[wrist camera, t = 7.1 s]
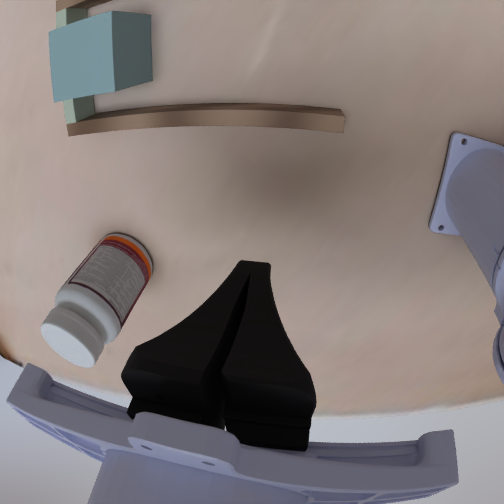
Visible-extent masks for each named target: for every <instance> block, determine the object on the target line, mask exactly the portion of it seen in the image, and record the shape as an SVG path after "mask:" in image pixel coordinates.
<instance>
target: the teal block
mask: <svg viewBox="0 0 504 504" xmlns="http://www.w3.org/2000/svg"><path fill="white" fill-rule="evenodd" d="M49 51H50V66H51V78H52V88H53V97H54V103H55V102H59V101H64V100H69V99H74V98H79V97H84V96H90V95H96V94H102V93H109V92H115V91H119V90H122V89H125V88H128V87H131V86H135V85H138V84H142V83H145V82H149V81H153V76H152V49H151V15H147V14H139V13H130V12H120V11H109V12H106V13H102V14H99V15H95V16H92V17H89V18H86V19H83V20H80V21H77V22H74V23H71V24H68V25H65V26H63V27H60V28H57V29H55V30H52V31H50V32H49Z"/></svg>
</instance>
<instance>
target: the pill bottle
mask: <svg viewBox="0 0 504 504" xmlns="http://www.w3.org/2000/svg"><path fill="white" fill-rule="evenodd" d="M151 275H152V262H151V259H150V257H149V255H148V253H147V252H146V250H145V249H144V247H143V246H142V245H141V244H140V243H138V242H137V241H136V240H134V239H132V238H131V237H128V236H126V235H122V234H110V235H107V236H105V237H104V238H102V239H101V240H100V241H99V243H98V244H97V245H96V246H95V247H94V248H93V250H92V251H91V252H90V253H89V254H88V256H87V257H86V258H85V259H84V260H83V262H82V263H81V264H80V265H79V266H78V268H77V269H76V270H75V271H74V273H73V274H72V275H71V276H70V277H69V279H68V280H67V281H66V282H65V284H64V285H63V286H62V287H61V288H60V290H59V291H58V293H57V295H56V298H55V308H53V309H52V310H51V312H50V313H49V315H48V316H47V318H46V319H45V320H44V322H43V323H42V325H41V333H42V335H43V337H44V339H45V340H46V342H47V343H48V344H49V345H50V346H51V347H52V348H53V349H54V350H55V351H56V352H57V353H58V354H59V355H61V356H62V357H63V358H65V359H66V360H68V361H70V362H71V363H73V364H76V365H78V366H81V367H85V368H90V367H93V366H94V365H95V363H96V361H97V360H98V358H99V356H100V354H101V353H102V351H103V348H104V345H105V344H109V343H111V342H112V341H114V340H115V339H116V337H117V336H118V334H119V333H120V331H121V329H122V327H123V325H124V323H125V321H126V320H127V318H128V316H129V314H130V312H131V311H132V309H133V307H134V305H135V304H136V302H137V300H138V298H139V297H140V295H141V293H142V291H143V290H144V288H145V286H146V285H147V283H148V281H149V279H150V278H151Z"/></svg>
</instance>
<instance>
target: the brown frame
mask: <svg viewBox="0 0 504 504" xmlns="http://www.w3.org/2000/svg"><path fill="white" fill-rule="evenodd" d="M108 1H111V0H57V1H56V12H58V11H61V10H63V9H65V8H85V9H87V8H90V7H93V6H96V5H99V4H102V3H105V2H108ZM344 123H345V116H344V114H343V113H342V111H341V109H332V108H322V107H311V106H298V105H282V104H257V103H209V104H184V105H168V106H155V107H144V108H135V109H126V110H118V111H110V112H103V113H97V114H93V115H91V116H89V117H87V118H84V119H82V120H80V121H78V122H75V123H69V124H67V130H68V135H69V136H75V135H82V134H90V133H98V132H107V131H117V130H128V129H141V128H156V127H177V126H257V127H278V128H294V129H307V130H318V131H328V132H337V133H344Z"/></svg>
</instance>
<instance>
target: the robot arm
mask: <svg viewBox="0 0 504 504" xmlns="http://www.w3.org/2000/svg"><path fill="white" fill-rule="evenodd" d="M463 138H465V142H464V143H463V144H462V143H461V140H462V139H463ZM440 225H442V227H441V228H438V227H439V226H440ZM429 228H430V230H431V231H432V232H435V233H443V234H450V235H457V236H462V238H463V240H464V241H465V243H466V244H467V246H468V248H469V249H470V251H471V253H472V254H473V256H474V258H475V260H476V261H477V263H478V265H479V267H480V268H481V270H482V272H483V274H484V276H485V277H486V279H487V281H488V283H489V285H490V287H491V289H492V291H493V293H494V295H495V297H496V301H497V304H496V308H495V310H494V312H495V314H496V316H497V318H498V321H499V323H500V325H501V327H500V328H499V330H498V332H497V334H496V336H495V339H494V343H493V360H494V365H495V368H496V371H497V373H498V375H499V377H500V379H501V381H502V382H503V384H504V146H502V145H499V144H496V143H493V142H490V141H486V140H483V139H480V138H476V137H473V136H470V135H466V134H462V133H459V132H455V133H453V134H452V135H451V138H450V144H449V148H448V153H447V158H446V162H445V167H444V171H443V175H442V179H441V183H440V187H439V191H438V195H437V198H436V202H435V206H434V209H433V213H432V216H431V219H430V223H429ZM270 273H271V265H270V264H269V263H265V262H255V261H244V260H241V261H239V262H238V264H237V265H236V267H235V268H234V269H233V271H232V272H231V273H230V275H229V276H228V277H227V278H226V280H225V281H224V282H223V283H222V284H221V285H220V287H219V288H218V289H217V290H216V291H215V292H214V293H213V294H212V295H211V296H210V297H209V298H208V299H207V300H206V301H205V302H204V303H203V304H202V305H201V306H200V307H199V308H198V309H196V310H195V311H194V312H193V313H192V314H190V315H189V316H188V317H187V318H185V319H184V320H183V321H181V322H180V323H178V324H177V325H176V326H174V327H172V328H171V329H169V330H168V331H166V332H164V333H163V334H161V335H159V336H157V337H155V338H154V339H151V340H149V341H147V342H145V343H143V344H141V345H138V346H136V347H135V349H134V351H133V352H132V353H131V355H130V357H129V359H128V361H127V363H126V365H125V367H124V369H123V371H122V373H121V378H122V380H123V382H124V384H125V386H126V387H127V389H128V391H129V392H130V394H131V395H132V397H133V398H132V400H131V403H130V405H129V407H128V408H126V407H122V406H119V405H116V404H113V403H110V402H107V401H104V400H102V399H99V398H96V397H93V396H91V395H88V394H85V393H83V392H80V391H78V390H75V389H73V388H70V387H68V386H65V385H63V384H61V383H58V382H56V381H54V380H53V379H52V377H51V376H50V375H49V374H48V373H47V372H46V371H45V370H43V369H41V368H39V367H37V366H35V365H33V364H30V363H28V364H27V365H26V367H25V369H24V370H23V372H22V374H21V375H20V377H19V379H18V380H17V382H16V384H15V386H14V388H13V389H12V391H11V393H10V394H9V396H8V398H7V400H6V401H7V403H8V404H9V405H10V406H11V407H13V409H15V410H16V411H17V412H18V413H19V414H20V415H21V416H23V417H24V418H25V419H26V420H27V421H28V422H29V423H31V424H32V425H33V426H35V427H37V428H38V429H40V430H42V431H43V432H45V433H47V434H49V435H51V436H52V437H54V438H56V439H58V440H60V441H61V442H63V443H65V444H67V445H69V446H71V447H72V448H75V449H77V450H78V451H80V452H82V453H84V454H86V455H88V456H90V457H93V458H94V459H97V460H99V461H101V462H103V463H102V466H101V468H100V471H99V474H98V476H97V479H96V482H95V485H94V487H93V490H92V493H91V496H90V498H89V501H88V504H386V503H393V502H400V501H407V500H413V499H419V498H425V497H429V496H432V495H434V494H436V493H439V492H441V491H443V490H445V489H447V488H450V487H452V486H454V485H456V484H457V483H458V482H459V480H458V467H457V456H456V448H455V441H454V440H455V439H454V432H453V430H451V429H450V430H443V431H434V432H429V433H426V434H423V435H422V436H421V437H420V438H419V439H418V440H414V441H401V442H382V443H326V442H325V443H324V442H309V430H310V427H311V418H312V415H313V413H314V410H315V408H316V393H315V389H314V385H313V381H312V378H311V375H310V373H309V371H308V370H307V368H306V367H305V366H304V364H303V363H302V361H301V360H300V358H299V356H298V355H297V353H296V351H295V350H294V348H293V346H292V344H291V342H290V340H289V338H288V336H287V334H286V332H285V330H284V327H283V325H282V322H281V320H280V317H279V314H278V311H277V308H276V305H275V301H274V297H273V292H272V287H271V280H270ZM225 426H226V430H227V431H225V430H224V429H225Z"/></svg>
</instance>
